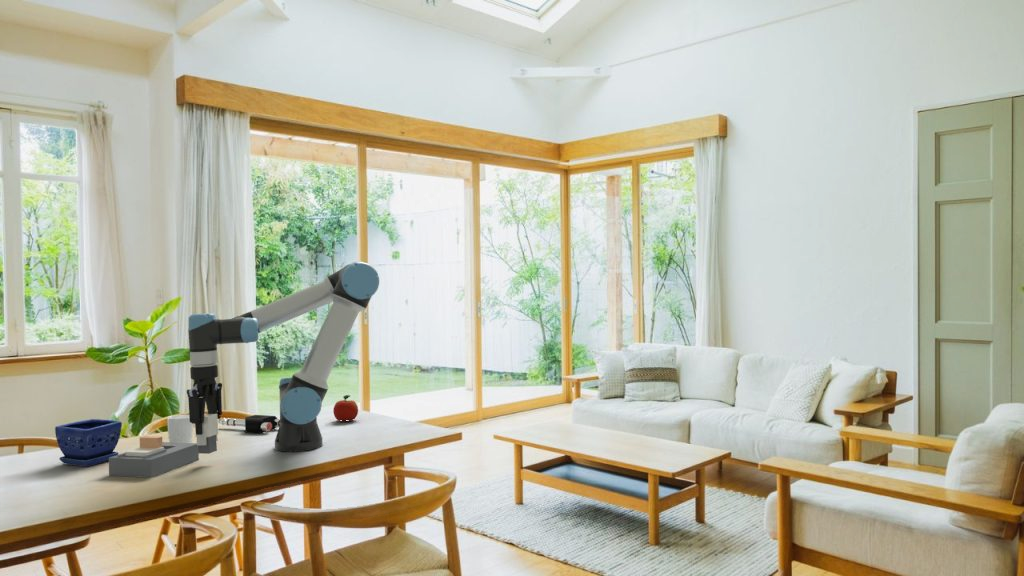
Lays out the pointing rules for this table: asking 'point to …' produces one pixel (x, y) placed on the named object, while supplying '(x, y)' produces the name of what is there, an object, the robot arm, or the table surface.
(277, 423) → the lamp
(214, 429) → the plug
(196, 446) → the socket
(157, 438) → the tan and grey block
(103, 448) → the flower pot
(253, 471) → the table surface
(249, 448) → the table surface
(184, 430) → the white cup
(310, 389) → the robot arm
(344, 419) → the fruit
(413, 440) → the table surface
